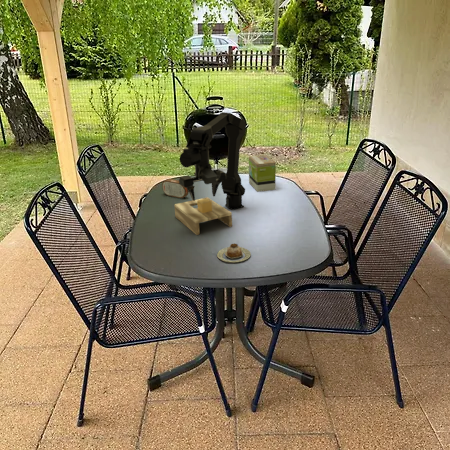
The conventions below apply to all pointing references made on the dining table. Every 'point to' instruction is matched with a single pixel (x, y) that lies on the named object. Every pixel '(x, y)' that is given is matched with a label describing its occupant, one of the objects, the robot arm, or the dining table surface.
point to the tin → (174, 188)
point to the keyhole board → (200, 214)
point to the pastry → (233, 253)
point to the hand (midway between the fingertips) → (203, 198)
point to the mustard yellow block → (204, 205)
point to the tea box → (262, 173)
